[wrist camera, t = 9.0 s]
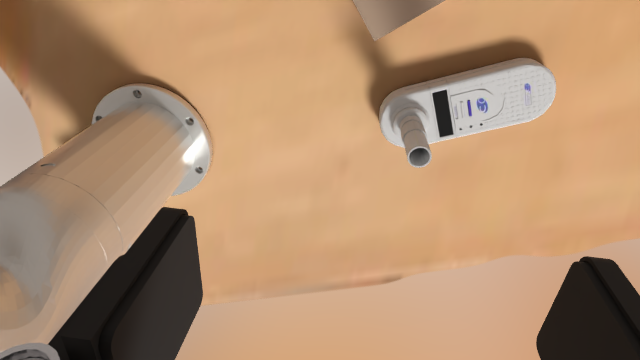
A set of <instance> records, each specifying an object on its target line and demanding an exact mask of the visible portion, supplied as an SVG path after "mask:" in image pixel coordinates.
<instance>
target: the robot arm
mask: <svg viewBox="0 0 640 360" xmlns="http://www.w3.org/2000/svg"><path fill="white" fill-rule="evenodd" d="M191 118H192V119H193V120H192V119H191ZM212 155H213V151H212V142H211V138H210V134H209V131H208V129H207V127H206V125H205V123H204V121H203V120H202V118H201V117H200V116H199V114H198V113H197V112H196V110H195V109H194V108H193V107H192V106H191V105H190V104H189V103H188V102H186V101H185V100H184V99H182V98H181V97H180V96H178V95H177V94H175V93H173V92H171V91H169V90H167V89H165V88H162V87H159V86H156V85H151V84H144V83H138V84H129V85H125V86H121V87H119V88H117V89H115V90H113V91H112V92H110V93H109V94H107V95H106V96H105V97H103V99H102V100H101V101H100V102H99V103H98V105H97V107H96V109H95V111H94V113H93V118H92V125H91V126H90V127H88V128H87V129H85V130H84V131H82V132H81V133H79V134H78V135H76V136H75V137H73V138H72V139H70V140H69V141H67V142H66V143H64V144H63V145H61V146H60V147H58V148H57V149H55V150H54V151H52V152H51V153H49V154H48V155H46V156H45V157H43V158H42V159H40V160H39V161H38V162H36V163H35V164H33V165H32V166H30V167H29V168H27V169H26V170H24V171H23V172H21V173H20V174H18V175H17V176H15V177H14V178H12V179H11V180H9V181H8V182H6V183H5V184H3V185H2V186H0V360H175V358H176V356H177V354H178V352H179V350H180V347H181V345H182V343H183V341H184V339H185V337H186V335H187V333H188V331H189V329H190V326H191V324H192V322H193V320H194V318H195V316H196V314H197V311H198V310H199V307H200V305H201V302H202V296H203V290H202V281H201V273H200V264H199V255H198V247H197V238H196V229H195V221H194V218H193V216H188V213H187V211H186V210H184V209H176V208H167V207H163V208H162V206H163V205H164V204H165V203H166V201H167V200H168V199H169V197H170V196H175V195H180V194H183V193H185V192H188V191H190V190H192V189H193V188H194V187H196V186H197V185H198V184H199V183H200V182H201V181H202V180H203V178H204V177H205V175H206V174H207V172H208V170H209V168H210V165H211V162H212ZM536 343H537V350H538V353H539V356H540V358H541V360H640V295H639V294H638V293H637V291H636V290H635V288H634V287H633V286H632V284H631V283H630V282H629V280H628V279H627V278H626V277H625V275H624V274H623V272H622V271H621V269H620V268H619V267H618V265H617V264H616V263H615V262H614V261H613V260H610V259H603V258H594V257H583V258H581V259H580V261H579V262H574V263H573V264H572V265H571V267H570V269H569V271H568V273H567V275H566V277H565V280H564V282H563V284H562V286H561V288H560V290H559V292H558V294H557V296H556V298H555V300H554V302H553V304H552V307H551V309H550V311H549V313H548V315H547V317H546V319H545V321H544V323H543V325H542V327H541V330H540V331H539V334H538V336H537V342H536Z"/></svg>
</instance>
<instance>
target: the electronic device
mask: <svg viewBox="0 0 640 360" xmlns="http://www.w3.org/2000/svg"><path fill="white" fill-rule="evenodd" d="M555 93H556V81H555V78H554V75H553V74H552V72H551V71H550V70H549V69H548V68H547V67H545V66H544V65H542V64H541V63H539V62H537V61H536V60H533V59H530V58H516V59H512V60H508V61H504V62H500V63H496V64H492V65H488V66H485V67H481V68H477V69H473V70H469V71H465V72H461V73H457V74H453V75H449V76H445V77H441V78H437V79H433V80H429V81H426V82H422V83H418V84H414V85H410V86H406V87H402V88H399V89H397V90H395V91H392V92H391V93H390V94H389V95H388V96H387V97H386V98H385V99H384V101H383V103H382V104H381V106H380V112H379V123H380V127H381V131H382V133H383V135H384V136H385V138H386V139H387V140H388V141H389V142H391V143H392V144H394V145H396V146H400V147H403V148H405V149H406V154H407V159H408V162H409V163H410V164H411V165H412V166H414V167H418V168H420V167H424V166H426V165H427V164H428V163H429V162H430V160H431V151H430V148H429V145H428V144H431V143H436V142H438V141H444V140H448V139H453V138H457V137H462V136H466V135H471V134H475V133H480V132H484V131H488V130H493V129H497V128H502V127H506V126H511V125H515V124H520V123H524V122H529V121H531V120H534V119H535V118H537V117H539V116H541V115H542V114H543V113H544V112H545V111H546V110H547V109H548V108H549V107H550V106H551V104H552V102H553V100H554V98H555Z"/></svg>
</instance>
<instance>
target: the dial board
mask: <svg viewBox="0 0 640 360" xmlns="http://www.w3.org/2000/svg"><path fill="white" fill-rule="evenodd" d="M443 1H445V0H353V2H354V4H355V6H356V7H357V9H358V11H359V13H360V15H361V17H362V19H363V21H364V23H365V24H366V26H367V28H368V30H369V32H370V34H371V36H372V38H373V40H374V41H376V40H378V39H379V38H381V37H383V36H385V35H386V34H388V33H390V32H392V31H393V30H395V29H397V28H398V27H400V26H402V25H404V24H405V23H407V22H409V21H410V20H412V19H414V18H416V17H417V16H419V15H421V14H422V13H424V12H426V11H428V10H429V9H431V8H433V7H435V6H436V5H438V4H440V3H441V2H443Z"/></svg>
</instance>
